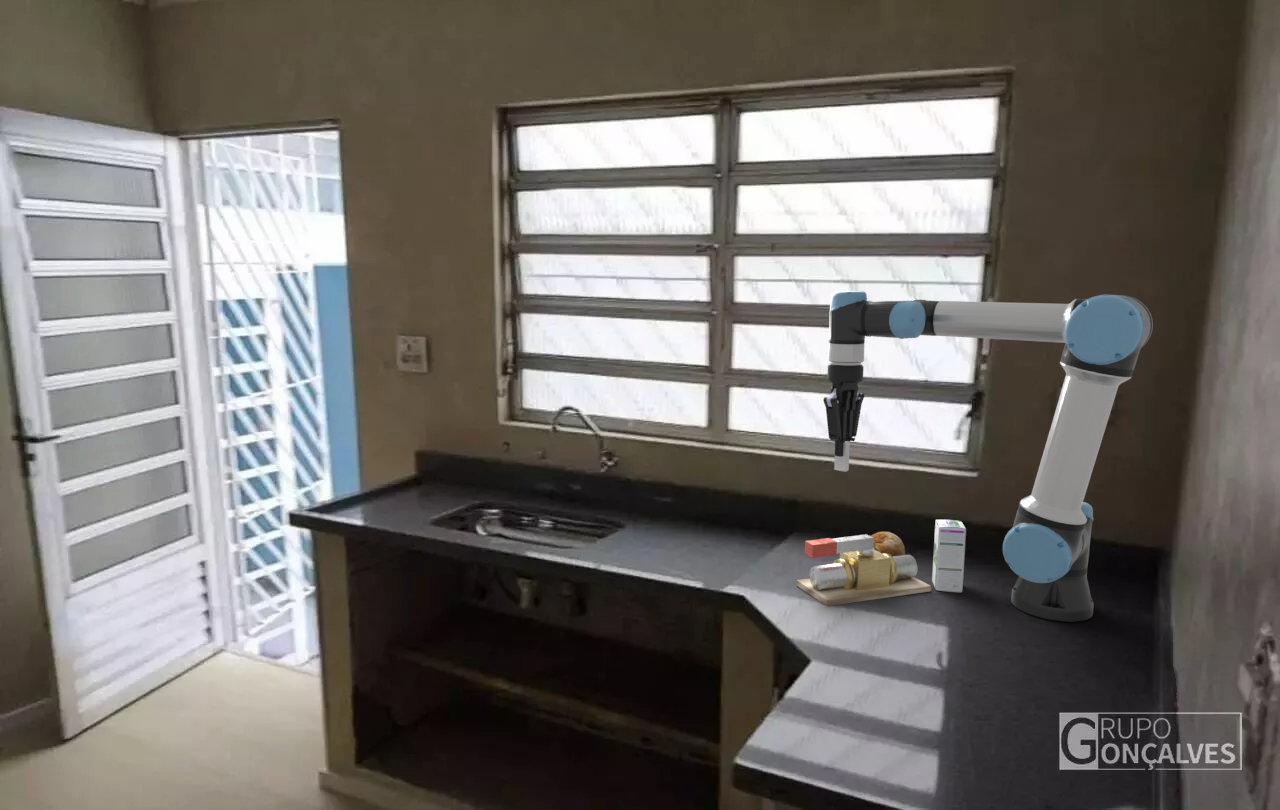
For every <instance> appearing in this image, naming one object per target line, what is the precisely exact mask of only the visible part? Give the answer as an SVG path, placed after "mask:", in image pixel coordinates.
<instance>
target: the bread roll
mask: <svg viewBox="0 0 1280 810" xmlns="http://www.w3.org/2000/svg"><path fill="white" fill-rule="evenodd" d="M870 536H871V537H873V538H874V539H873V547H874V550H876V551H878V552H880V553H882V554H883V553H887V554H889V555H891V556H892V557H894V556H902V555H906V551H905V545H904V543H903V541H902V539H901V538H900V536H898V535H896V534H895V533H892V532H890V531H877V532H875V533H873V534H872V535H870Z"/></svg>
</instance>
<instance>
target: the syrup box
mask: <svg viewBox="0 0 1280 810" xmlns="http://www.w3.org/2000/svg"><path fill="white" fill-rule="evenodd" d="M966 536H967V528H966V526H965V525H964V524H963V522H962V520H957V519H956V520H955V519H935V525H934V536H933V537H934V542H933V558H932V559H933V560H932V574H931V582H932V585H933V587H934V589H935V590H936V591H938V592H939V591H941V592H946V593H947V592H949V593H962V592H963V584H964V571H965V555H966Z"/></svg>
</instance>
